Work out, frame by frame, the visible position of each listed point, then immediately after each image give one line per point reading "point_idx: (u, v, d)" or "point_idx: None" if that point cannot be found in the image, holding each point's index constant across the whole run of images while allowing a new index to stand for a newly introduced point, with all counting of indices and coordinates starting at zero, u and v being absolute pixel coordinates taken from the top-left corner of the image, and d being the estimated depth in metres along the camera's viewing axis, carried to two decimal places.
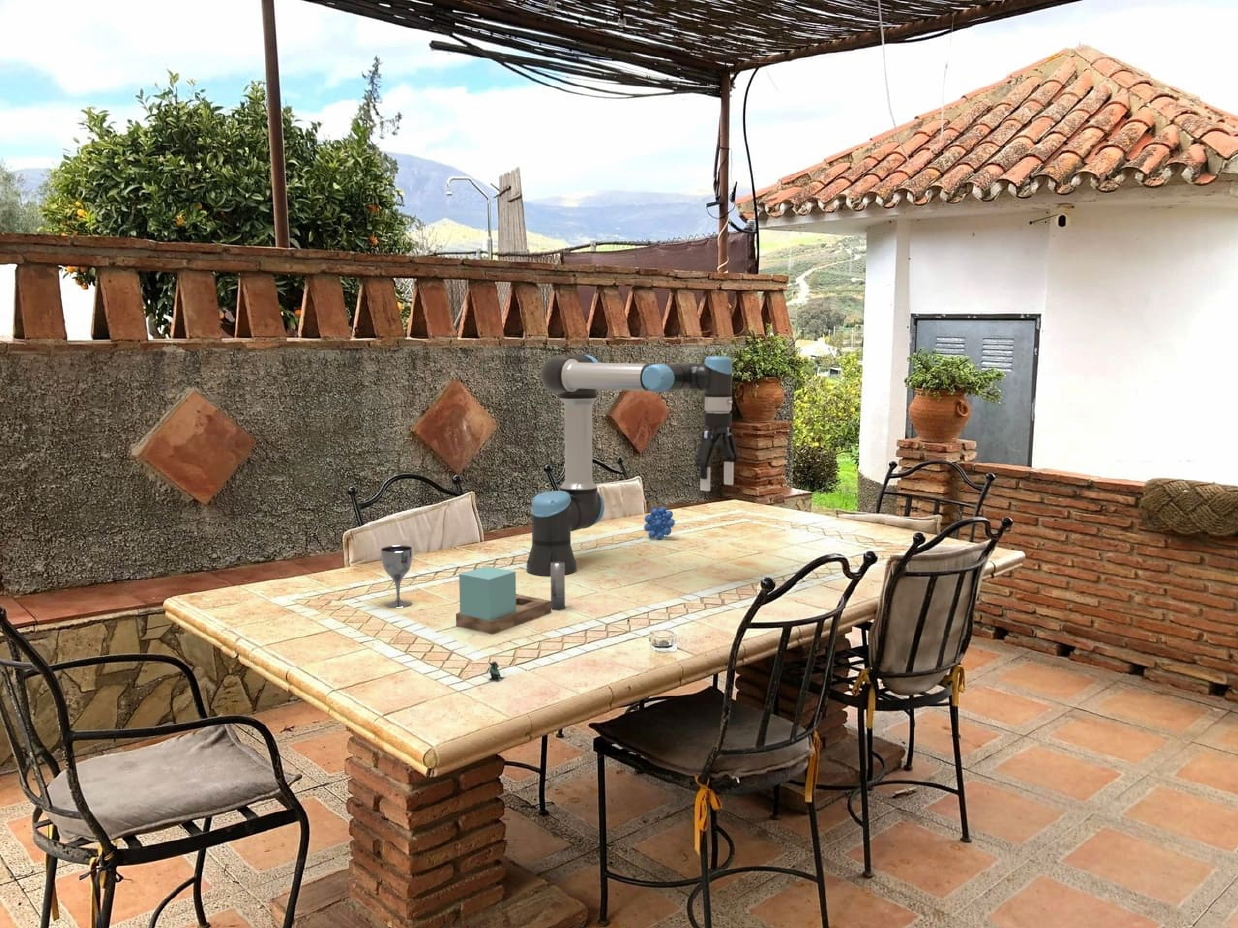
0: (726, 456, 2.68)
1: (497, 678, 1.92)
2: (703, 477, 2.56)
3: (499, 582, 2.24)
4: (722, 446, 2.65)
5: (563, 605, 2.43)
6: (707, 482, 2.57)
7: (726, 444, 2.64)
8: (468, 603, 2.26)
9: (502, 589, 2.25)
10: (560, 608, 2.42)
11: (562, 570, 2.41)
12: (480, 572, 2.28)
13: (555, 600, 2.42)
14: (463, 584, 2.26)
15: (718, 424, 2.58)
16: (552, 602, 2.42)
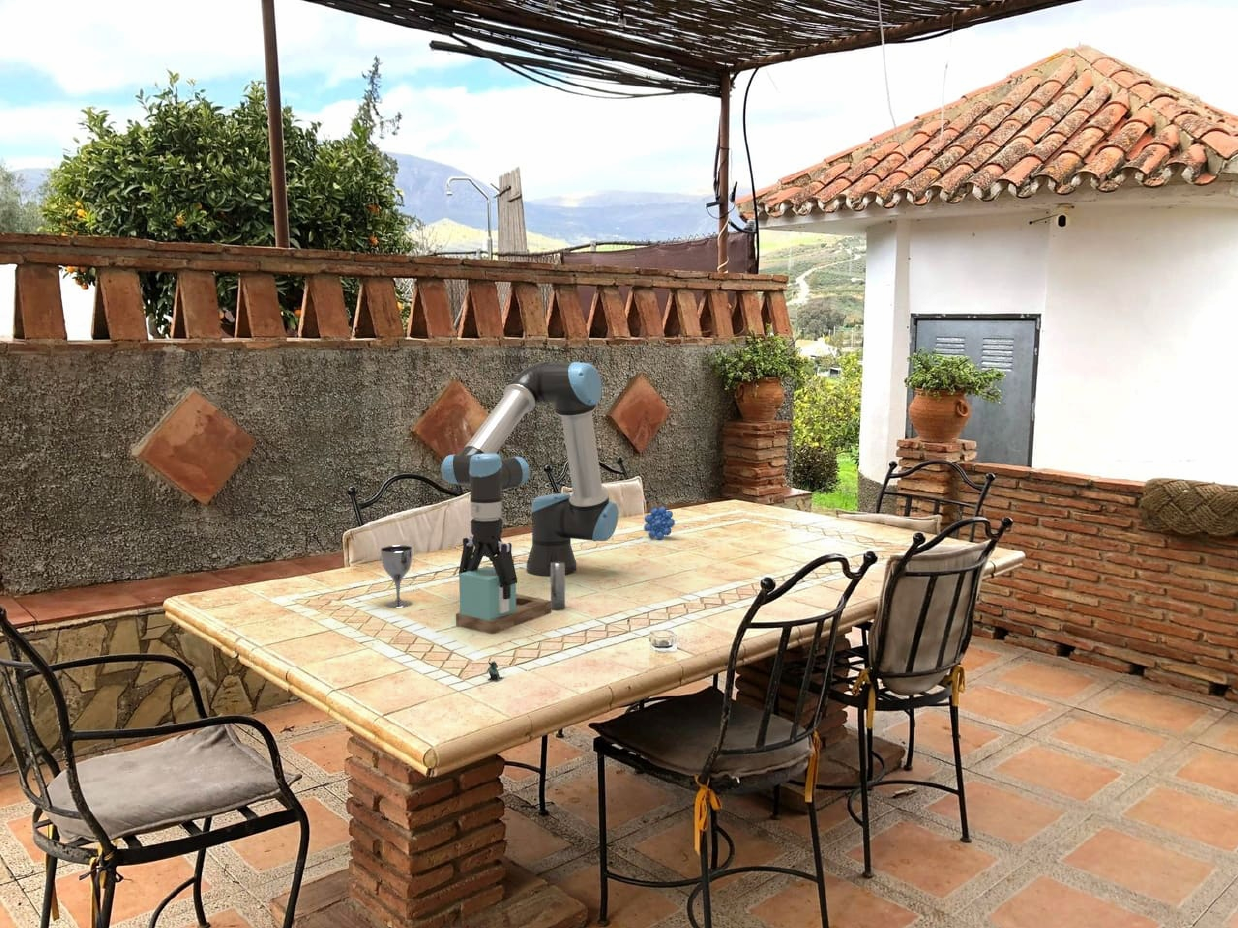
0: None
1: (496, 678, 1.92)
2: None
3: (499, 582, 2.24)
4: None
5: (563, 605, 2.43)
6: None
7: None
8: (468, 603, 2.26)
9: None
10: (560, 608, 2.42)
11: (562, 570, 2.41)
12: (480, 572, 2.28)
13: (555, 600, 2.42)
14: (463, 584, 2.26)
15: None
16: (552, 602, 2.42)
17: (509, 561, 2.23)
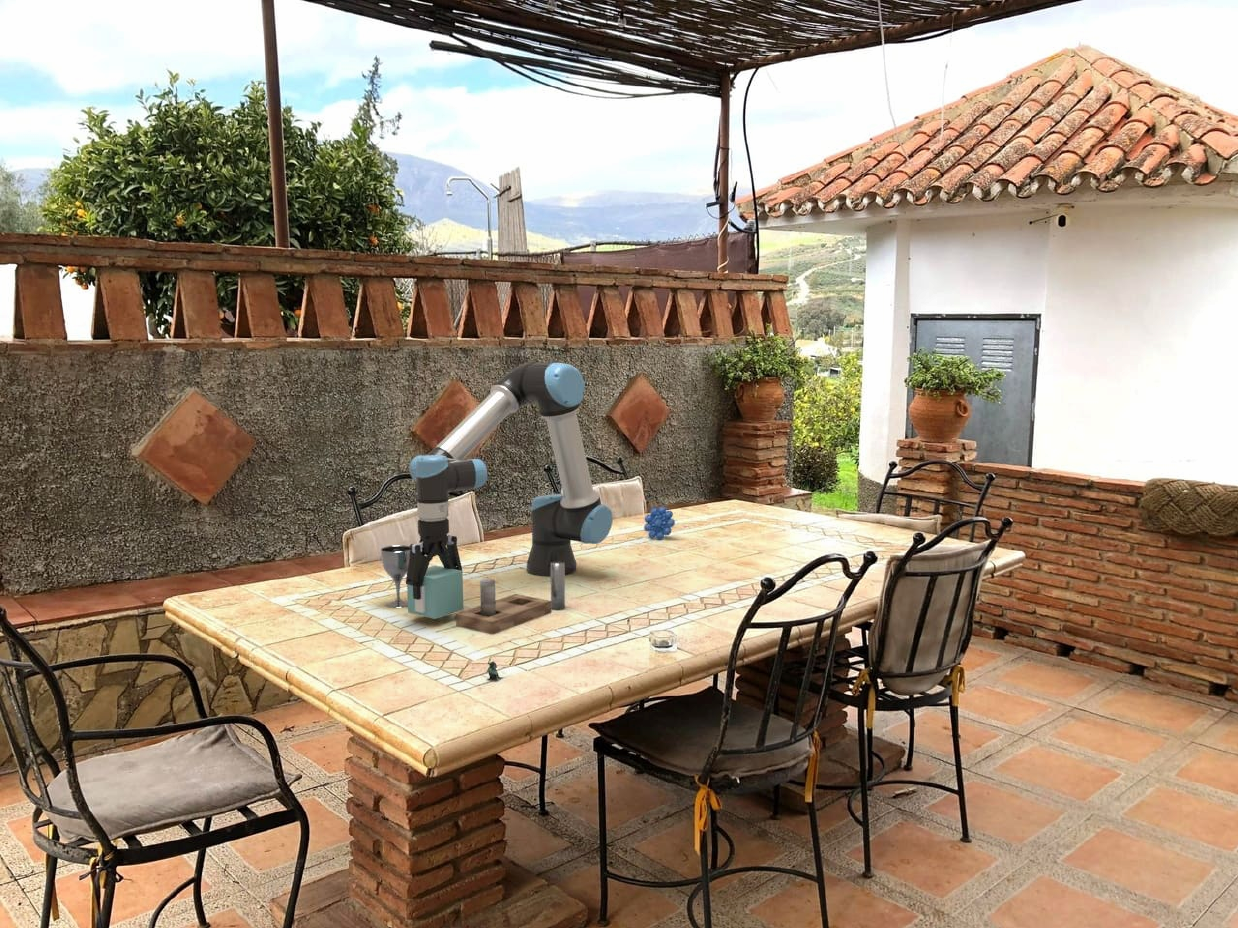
0: None
1: (495, 678, 1.92)
2: (416, 597, 2.28)
3: None
4: (441, 557, 2.35)
5: (563, 605, 2.43)
6: (421, 602, 2.28)
7: (444, 555, 2.33)
8: (443, 603, 2.29)
9: None
10: (560, 608, 2.42)
11: (562, 570, 2.41)
12: (432, 573, 2.31)
13: (555, 600, 2.42)
14: (438, 587, 2.27)
15: (430, 533, 2.28)
16: (552, 602, 2.42)
17: None
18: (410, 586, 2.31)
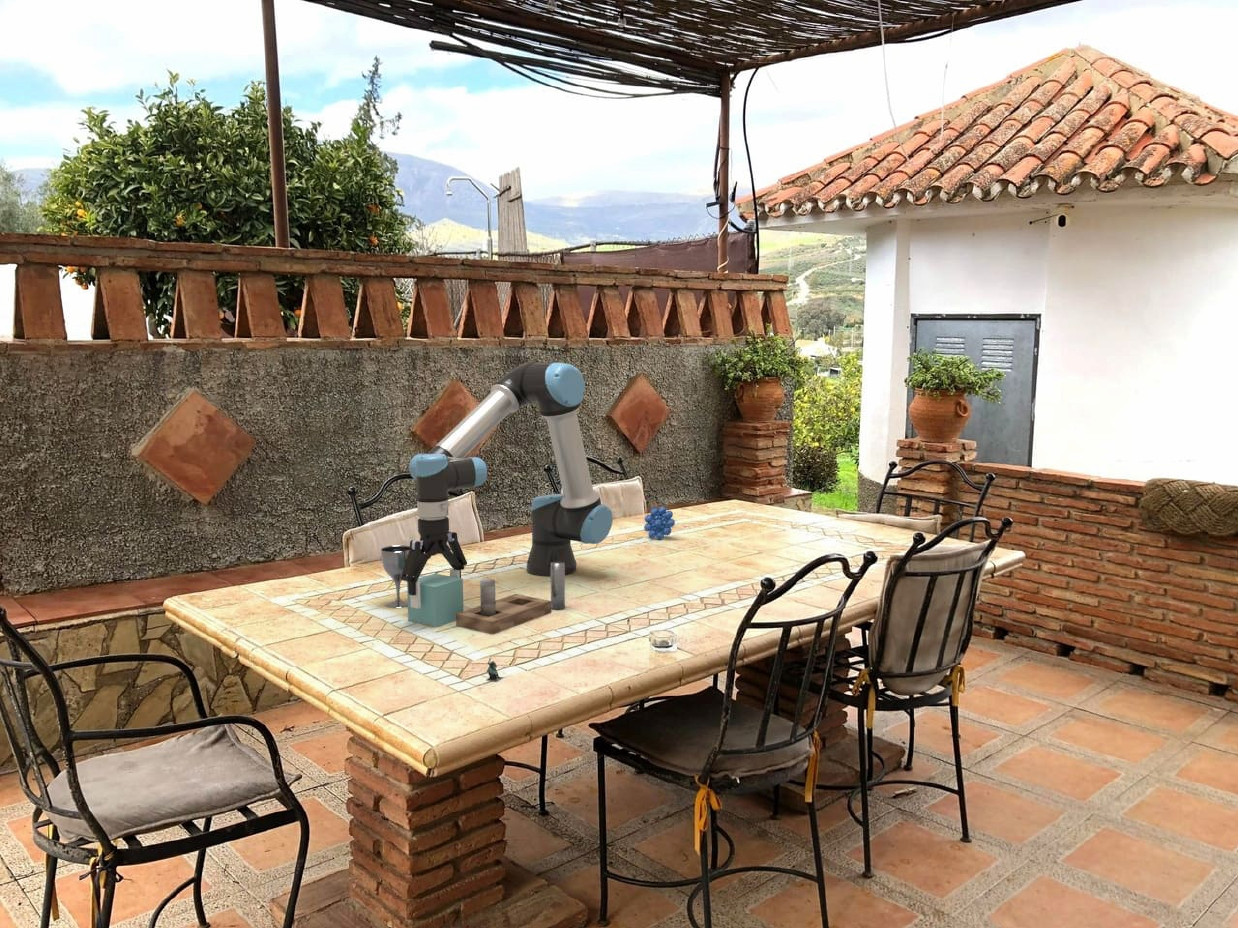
0: (451, 563, 2.38)
1: (495, 678, 1.92)
2: (411, 593, 2.26)
3: None
4: (443, 553, 2.35)
5: (563, 605, 2.43)
6: (416, 598, 2.27)
7: (446, 552, 2.34)
8: (444, 611, 2.29)
9: None
10: (560, 608, 2.42)
11: (562, 570, 2.41)
12: (432, 581, 2.31)
13: (555, 600, 2.42)
14: (438, 595, 2.27)
15: (430, 532, 2.28)
16: (552, 602, 2.42)
17: None
18: None
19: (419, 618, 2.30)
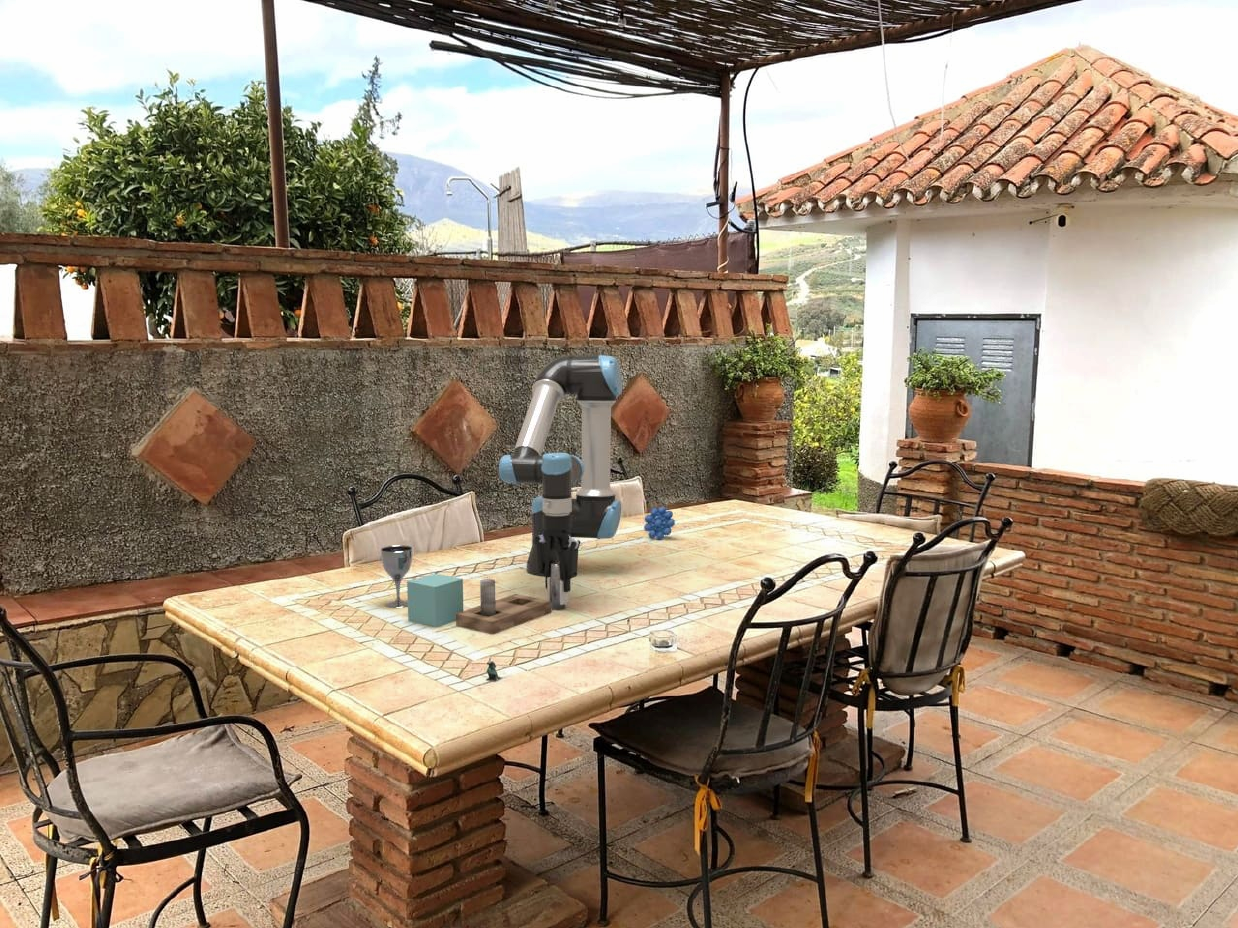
0: None
1: (494, 678, 1.92)
2: None
3: None
4: None
5: (563, 605, 2.43)
6: None
7: None
8: (444, 611, 2.29)
9: None
10: (560, 608, 2.42)
11: None
12: (432, 581, 2.31)
13: (555, 599, 2.42)
14: (438, 595, 2.27)
15: None
16: (552, 602, 2.42)
17: (574, 557, 2.39)
18: (410, 594, 2.31)
19: (419, 618, 2.30)
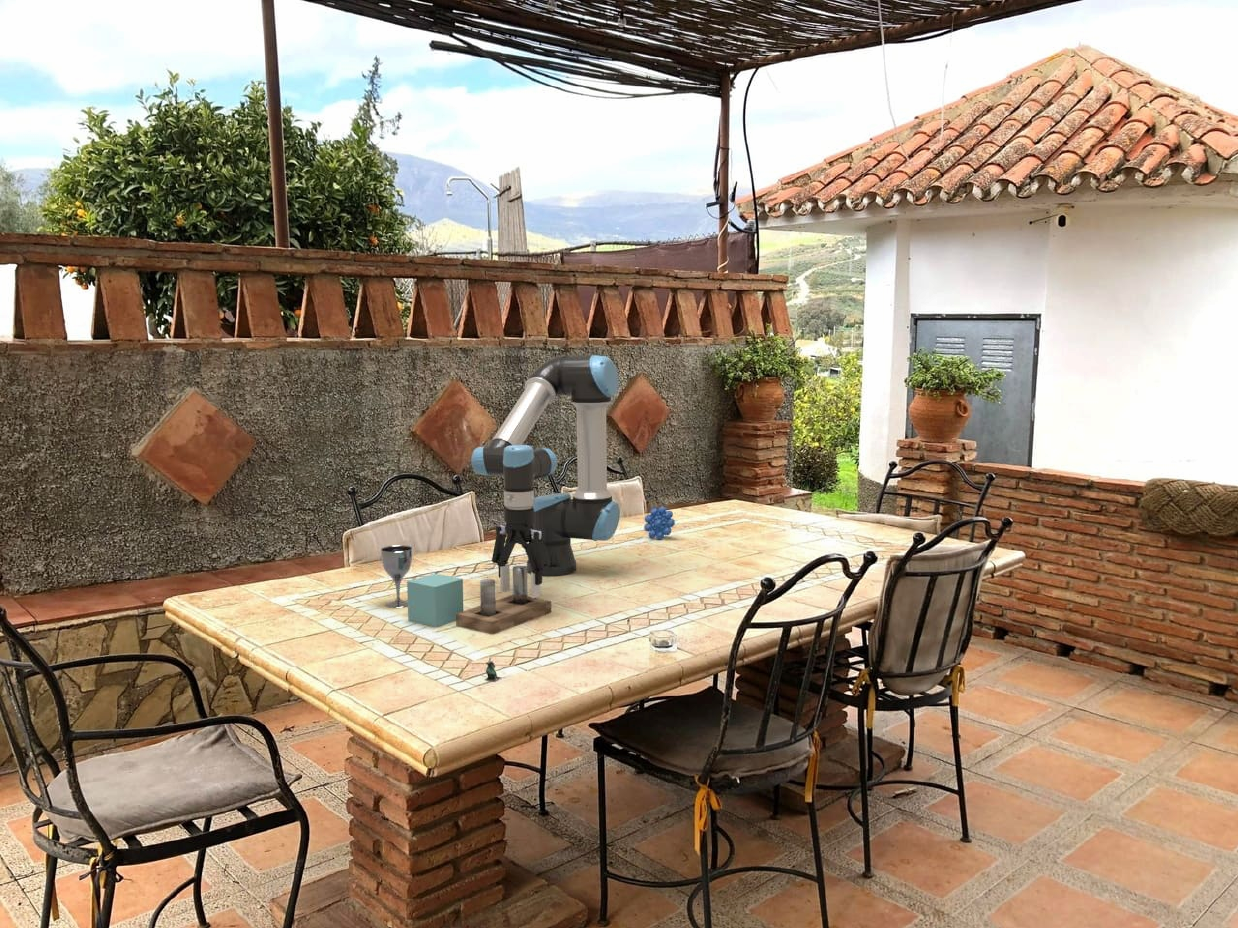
0: None
1: (493, 678, 1.92)
2: None
3: None
4: None
5: None
6: None
7: None
8: (444, 611, 2.29)
9: None
10: None
11: (524, 574, 2.37)
12: (432, 581, 2.31)
13: (517, 604, 2.37)
14: (438, 595, 2.27)
15: None
16: None
17: (541, 548, 2.33)
18: (410, 594, 2.31)
19: (419, 618, 2.30)
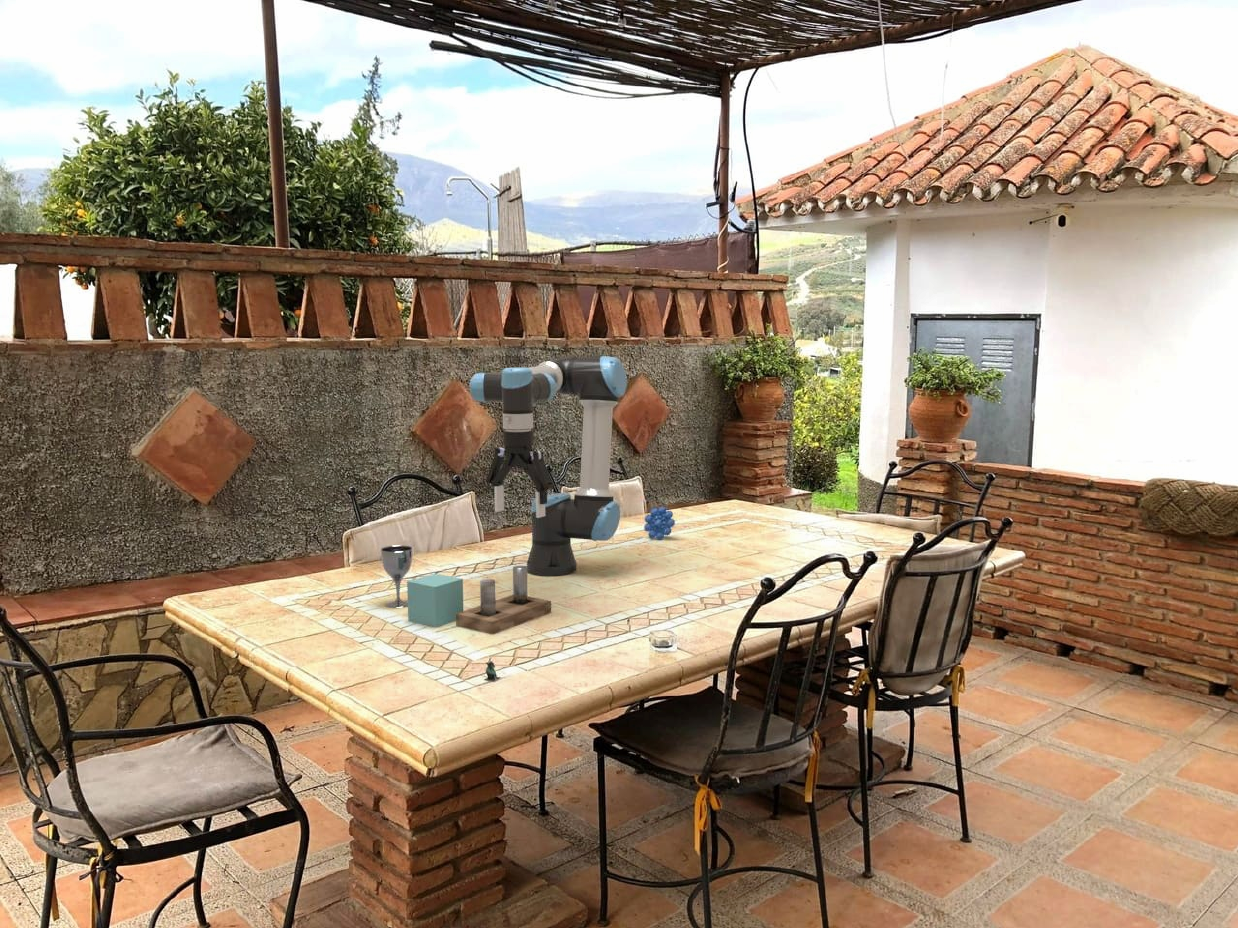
0: None
1: (493, 678, 1.92)
2: None
3: None
4: None
5: None
6: None
7: None
8: (444, 611, 2.29)
9: None
10: None
11: (524, 574, 2.37)
12: (432, 581, 2.31)
13: (517, 604, 2.37)
14: (438, 595, 2.27)
15: None
16: None
17: (543, 467, 2.30)
18: (410, 594, 2.31)
19: (419, 618, 2.30)
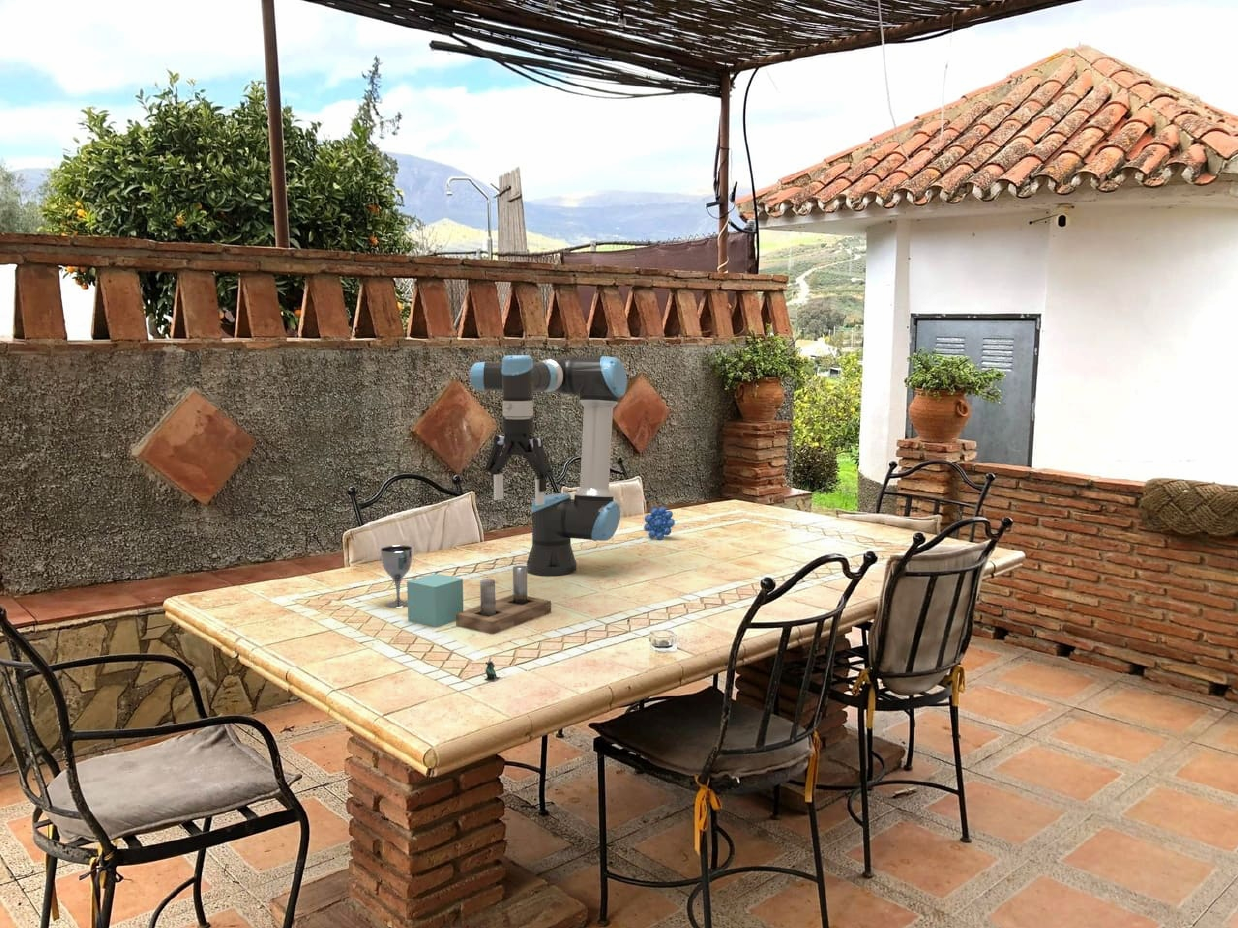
0: None
1: (493, 678, 1.92)
2: None
3: None
4: None
5: None
6: None
7: None
8: (444, 611, 2.29)
9: None
10: None
11: (524, 574, 2.37)
12: (432, 581, 2.31)
13: (517, 604, 2.37)
14: (438, 595, 2.27)
15: None
16: None
17: (542, 455, 2.29)
18: (410, 594, 2.31)
19: (419, 618, 2.30)
